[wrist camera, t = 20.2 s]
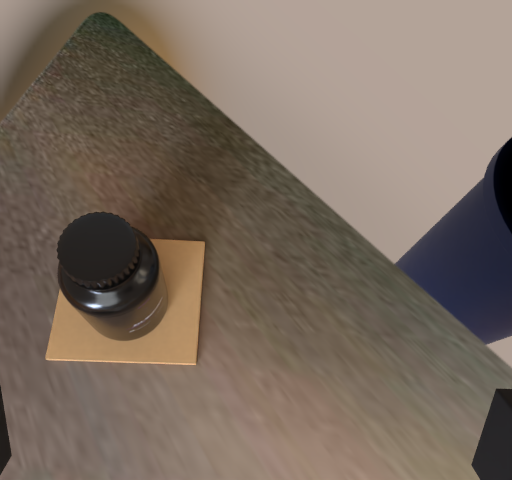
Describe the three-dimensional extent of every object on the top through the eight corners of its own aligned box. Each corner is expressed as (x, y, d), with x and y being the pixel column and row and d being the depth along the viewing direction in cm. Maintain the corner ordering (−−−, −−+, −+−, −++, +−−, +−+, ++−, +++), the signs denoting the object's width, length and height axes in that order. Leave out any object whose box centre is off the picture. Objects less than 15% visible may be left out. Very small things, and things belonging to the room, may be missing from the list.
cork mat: (205, 243, 41) (205, 241, 41) (196, 365, 37) (195, 364, 36) (72, 236, 40) (71, 234, 40) (46, 360, 36) (44, 359, 35)
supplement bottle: (163, 346, 36) (141, 306, 26) (79, 338, 36) (21, 295, 25) (175, 268, 39) (161, 203, 28) (98, 260, 39) (53, 191, 28)
